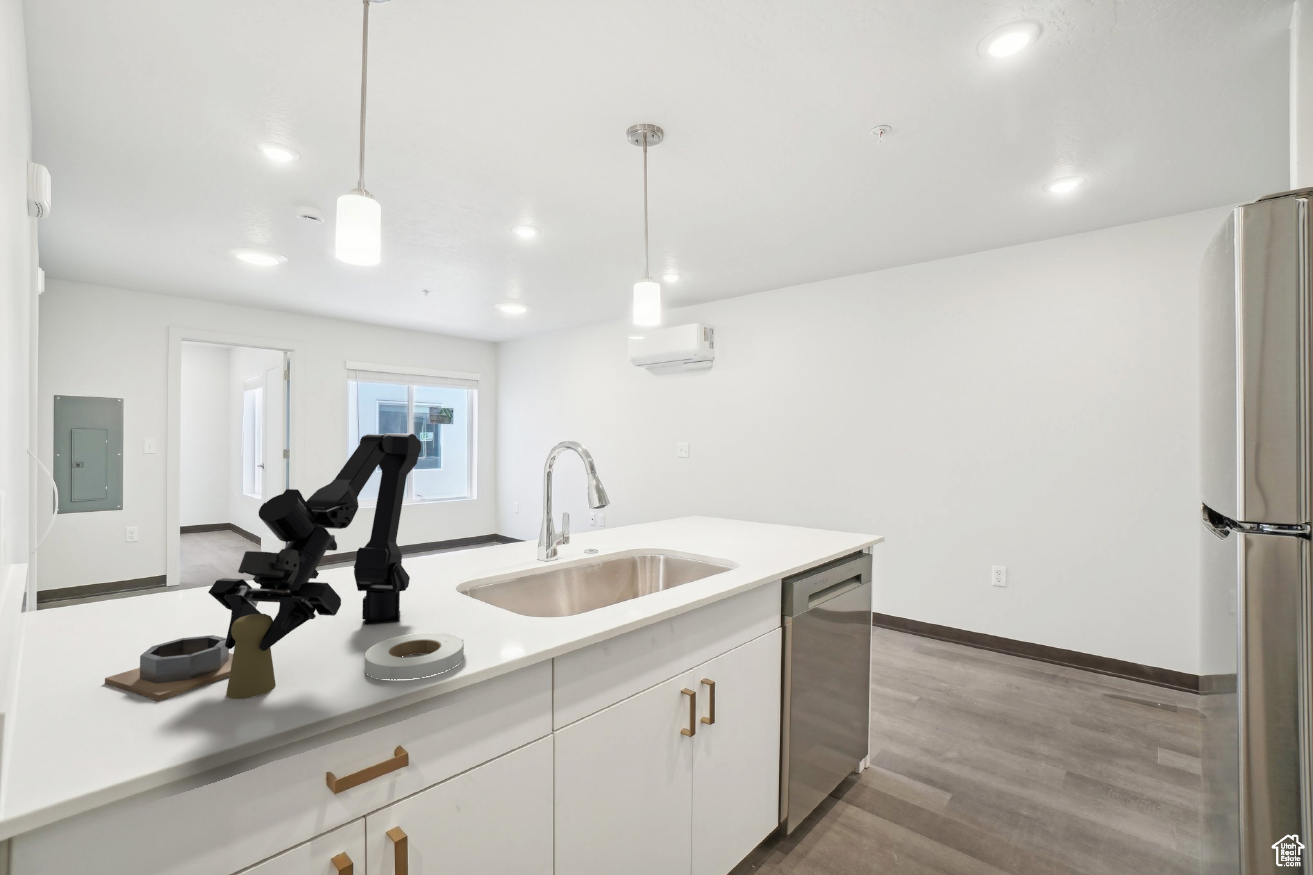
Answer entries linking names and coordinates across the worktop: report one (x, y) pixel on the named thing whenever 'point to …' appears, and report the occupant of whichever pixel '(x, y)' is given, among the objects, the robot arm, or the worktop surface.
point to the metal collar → (183, 659)
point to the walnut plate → (167, 689)
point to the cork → (250, 658)
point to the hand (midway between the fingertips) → (244, 648)
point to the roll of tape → (391, 665)
